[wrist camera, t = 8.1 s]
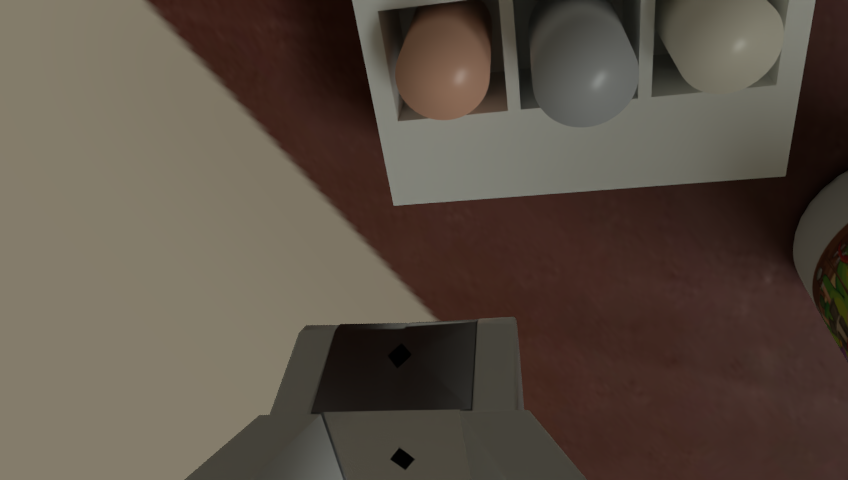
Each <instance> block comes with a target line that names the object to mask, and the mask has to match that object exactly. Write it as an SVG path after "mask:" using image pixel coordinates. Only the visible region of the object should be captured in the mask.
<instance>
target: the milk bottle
mask: <svg viewBox="0 0 848 480" xmlns="http://www.w3.org/2000/svg"><path fill="white" fill-rule="evenodd" d="M793 259H794V264H795V267H796V270H797V272H798V274H799V276H800V278H801V280H802V282H803V284H804V286H805V288H806V290H807V292H808V293H809V295H810V297H811V299H812V300H813V302H814V304H815V306H816V308H817V309H818V311H819V313H820V315H821V316H822V318H823V320H824V322H825V323H826V325H827V327H828V329H829V330H830V332H831V334H832V336H833V337H834V339H835V341H836V343H837V344H838V346H839V348H840V350H841V351H842V353H843V355H844V357H845V358H846V360H847V362H848V171H846V172H844V173H843V174H841V175H839V176H837V177H836V178H835V179H834V180H833V181H832V182H830V183H829V184H828V185H827V186H825V187H824V188H823V189H822V190H821V191H820V192H819V193H818V194H817V196H816V197H815V198H814V199H813V200H812V201H811V202H810V203H809V205H808V207H807V208H806V210H805V212H804V213H803V215H802V216H801V218H800V221H799V224H798V227H797V229H796V232H795V238H794V244H793Z"/></svg>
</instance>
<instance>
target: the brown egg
mask: <svg viewBox="0 0 848 480" xmlns="http://www.w3.org/2000/svg"><path fill="white" fill-rule="evenodd" d="M491 45H492V19H491V15H490V12H489V10H488V8H487V6H486V5H485V3H484V2H483V1H482V0H463V1H455V2H447V3H439V4H431V5H423V6H418V7H417V9H416V11H415V13H414V16H413V19H412V22H411V24H410V27H409V30H408V32H407V35H406V38H405V40H404V43H403V46H402V49H401V51H400V54H399V57H398V60H397V63H396V68H395V79H396V84H397V88H398V91H399V93H400V95H401V97H402V98H403V100H404V101H405V102H406V104H407V105H408V106H409V107H410V108H412V109H413V110H414V111H415V112H417V113H419V114H420V115H422V116H425V117H427V118H430V119H435V120H452V119H456V118H460V117H462V116H464V115H466V114H468V113H470V112H471V111H472V110H474V109H475V108H476V107H477V106H478V105H479V104H480V103H481V101H482V100H483V98H484V96H485V95H486V92H487V90H488V86H489V80H490V64H491Z"/></svg>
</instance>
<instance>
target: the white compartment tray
mask: <svg viewBox="0 0 848 480" xmlns="http://www.w3.org/2000/svg"><path fill="white" fill-rule="evenodd" d="M455 1H463V0H352V2H353V7H354V12H355V17H356V22H357V27H358V32H359V37H360V42H361V47H362V52H363V56H364V61H365V66H366V71H367V76H368V81H369V86H370V91H371V96H372V101H373V106H374V111H375V116H376V120H377V125H378V130H379V135H380V140H381V145H382V150H383V155H384V160H385V165H386V170H387V175H388V180H389V184H390V189H391V194H392V199H393V204H394V206H395V205H409V204H422V203H435V202H449V201H462V200H475V199H489V198H502V197H515V196H529V195H542V194H556V193H569V192H582V191H596V190H609V189H622V188H636V187H649V186H662V185H676V184H689V183H703V182H716V181H729V180H743V179H756V178H769V177H783V176H786V170H787V164H788V158H789V152H790V147H791V141H792V135H793V129H794V123H795V117H796V111H797V106H798V100H799V94H800V88H801V82H802V76H803V70H804V65H805V59H806V53H807V47H808V41H809V35H810V30H811V24H812V18H813V12H814V6H815V0H767V1H768V2H769V3H770V4H771V5H772V6H773V7H774V8H775V9H776V10H777V12H778V13H779V15H780V17H781V20H782V23H783V27H784V41H783V45H782V49H781V51H780V54H779V56H778V58H777V60H776V62H775V63H774V65H773V66H772V67H771V68H770V70H769V71H768V72H767V73H766V74H765V75H764V76H763V77H762V78H760V79H759V80H758V81H757V82H755V83H753V84H752V85H750V86H748V87H746V88H744V89H742V90H739V91H736V92H732V93H727V94H710V93H706V92H703V91H700V90H698V89H696V88H694V87H692V86H691V85H690V84H688V83H687V82H686V81H685V79H684V78H683V77H682V75H681V73H680V72H679V70H678V68H677V66H676V65H675V63H674V61H673V59H672V57H671V56H670V54H669V52H668V50H667V49H666V47H665V45H664V43H663V41H662V40H661V38H660V36H659V34H658V33H657V31H656V29H655V27H654V23H655V0H611V2H612V4H613V6H614V8H615V10H616V12H617V15H618V17H619V19H620V22H621V24H622V26H623V28H624V31H625V33H626V35H627V37H628V40H629V42H630V44H631V46H632V49H633V51H634V53H635V56H636V58H637V61H638V66H639V80H638V85H637V88H636V91H635V94H634V95H633V97H632V99H631V101H630V102H629V103H628V105H627V106H626V107H625V108H624V109H623V110H622V111H621V112H620V113H619V114H618V115H616V116H615V117H614V118H612V119H610V120H608V121H607V122H604V123H602V124H599V125H596V126H591V127H571V126H566V125H563V124H560V123H558V122H556V121H554V120H553V119H551V118H550V117H549V116H548V115H546V114H545V113H544V111H543V110H542V109H541V108H540V106H539V105H538V103H537V101H536V98H535V95H534V92H533V84H532V72H531V59H530V47H529V34H528V25H529V19H530V16H531V13H532V11H533V9H534V7H535V5H536V4H537V2H538V1H539V0H482V1H483V2H484V3H485V5H486V6H487V8H488V10H489V12H490V15H491V19H492V45H491V64H490V80H489V86H488V90H487V92H486V95H485V96H484V98H483V100H482V101H481V103H480V104H479V105H478V106H477V107H476V108H475V109H474V110H472V111H471V112H470V113H468V114H466V115H464V116H462V117H460V118H456V119H452V120H435V119H430V118H427V117H425V116H422V115H420V114H419V113H417V112H415V111H414V110H413V109H412V108H410V107H409V106H408V105H407V104H406V102H405V101H404V100H403V98H402V97H401V95H400V93H399V91H398V88H397V84H396V79H395V68H396V63H397V60H398V57H399V54H400V51H401V49H402V46H403V43H404V40H405V38H406V35H407V32H408V30H409V27H410V24H411V22H412V19H413V16H414V13H415V11H416V9H417V7H418V6H423V5H431V4H439V3H447V2H455Z"/></svg>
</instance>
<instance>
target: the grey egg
mask: <svg viewBox="0 0 848 480" xmlns="http://www.w3.org/2000/svg"><path fill="white" fill-rule="evenodd" d="M528 34H529V47H530V59H531V72H532V84H533V92H534V95H535V98H536V101H537V103H538V105H539V106H540V108H541V109H542V110H543V111H544V113H545V114H546V115H548V116H549V117H550V118H551V119H553V120H554V121H556V122H558V123H560V124H563V125H566V126H571V127H591V126H596V125H599V124H602V123H604V122H607V121H608V120H610V119H612V118H614V117H615V116H616V115H618V114H619V113H620V112H621V111H622V110H623V109H624V108H625V107H626V106H627V105H628V103H629V102H630V101H631V99H632V97H633V95H634V94H635V91H636V88H637V85H638V80H639V66H638V61H637V58H636V56H635V53H634V51H633V49H632V46H631V44H630V42H629V40H628V37H627V35H626V33H625V31H624V28H623V26H622V24H621V22H620V19H619V17H618V15H617V12H616V10H615V8H614V6H613V4H612V2H611V0H539V1H538V2H537V4H536V5H535V7H534V9H533V11H532V13H531V16H530V19H529V25H528Z"/></svg>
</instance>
